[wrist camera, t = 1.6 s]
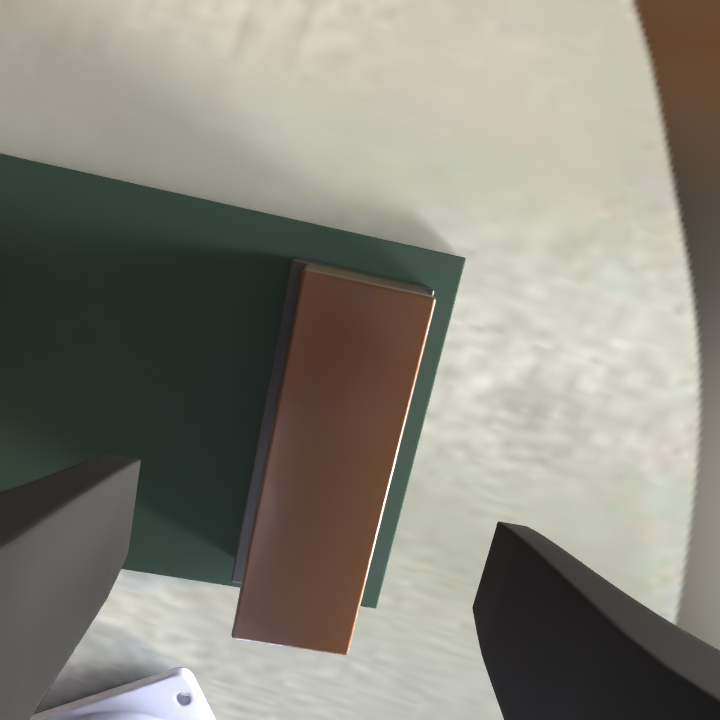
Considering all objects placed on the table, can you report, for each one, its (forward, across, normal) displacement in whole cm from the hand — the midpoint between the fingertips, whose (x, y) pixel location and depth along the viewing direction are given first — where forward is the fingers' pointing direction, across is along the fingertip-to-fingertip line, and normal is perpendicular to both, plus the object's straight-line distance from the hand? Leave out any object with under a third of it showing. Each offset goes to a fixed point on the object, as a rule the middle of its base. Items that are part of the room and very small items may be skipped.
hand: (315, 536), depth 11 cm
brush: (+7, 0, 0) cm, 7 cm away
